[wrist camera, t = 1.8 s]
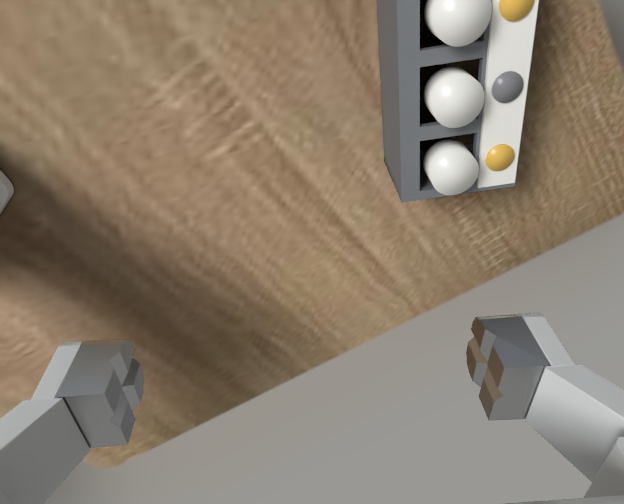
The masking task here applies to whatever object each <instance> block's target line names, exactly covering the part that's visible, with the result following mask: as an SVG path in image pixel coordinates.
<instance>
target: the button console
mask: <svg viewBox="0 0 624 504" xmlns="http://www.w3.org/2000/svg"><path fill="white" fill-rule="evenodd" d="M491 1H492V0H491ZM539 2H540V0H539ZM538 9H539V3H538ZM377 15H378V37H379V58H380V80H381V101H382V122H383V144H384V162H385V164H386V167H387V169H388V171H389V174H390V176H391V178H392V181H393V183H394V185H395V188H396V190H397V192H398V195H399V197H400V200H401V202H409V201H416V200H422V199H429V198H436V197H443V196H450V195H444V194H442V193H440V192H438V191H437V190H436V189H435V188H434V186H433V185H432V183H431V181H430V179H429V178H428V176H427V174H426V172H425V170H424V167H423V161H424V157H425V154H426V153H427V151H428V150H429V149H428V150H421V151H420V141H424V140H431V139H438V138H444V137H451V136H458V135H465V134H471V133H474V143H469V144H464V145H465V147H466V148H467V149H468V150H469V152H470V153H471V154H472V155H473V157H474V158H475V159H476V161H477V163H478V164H479V152H480V139H481V127H482V114H483V107H482V110H481V111H480V113H479V114H478V116H477V117H476V118H475V119H474V120H473V121H472V122H470V123H469V124H467V125H465V126H462V127H459V128H448V127H445V126H443V125H441V124H440V123H439V122H432V123H425V124H420V67H425V66H432V65H439V64H445V63H452V62H458V61H465V60H472V59H478V58H480V59H479V73H478V82H479V83H480V84H481V86H482V87H483V90H484V89H485V76H486V64H487V51H488V38H489V26H490V21H489V24H488V26H487V28H486V29H485V31H484V32H483V34H482V35H481V39H479V40H475V41H474V42H472V43H470V44H468V45H465V46H460V47H454V46H450V45H447V44H446V45H440V46H433V47H427V48H420V0H377ZM537 17H538V10H537ZM536 24H537V18H536ZM535 32H536V26H535ZM534 39H535V33H534ZM533 47H534V41H533ZM532 55H533V48H532ZM531 62H532V56H531ZM530 70H531V64H530ZM529 77H530V71H529ZM528 85H529V79H528ZM527 92H528V86H527ZM526 100H527V94H526ZM525 108H526V102H525ZM524 115H525V109H524ZM523 123H524V117H523ZM522 130H523V125H522ZM521 138H522V132H521ZM520 145H521V140H520ZM519 153H520V147H519ZM518 160H519V155H518ZM517 168H518V163H517ZM516 176H517V170H516ZM515 183H516V178H515ZM515 183H510V184H503V185H496V186H489V187H482V188H478V187H477V179H476V181H475V182H474V184H473V185H472V186H471V187H470V188H469V189H467V190H466V191H464V192H462V193H460V194H464V193H471V192H478V191H485V190H492V189H499V188H506V187H513V186H515Z"/></svg>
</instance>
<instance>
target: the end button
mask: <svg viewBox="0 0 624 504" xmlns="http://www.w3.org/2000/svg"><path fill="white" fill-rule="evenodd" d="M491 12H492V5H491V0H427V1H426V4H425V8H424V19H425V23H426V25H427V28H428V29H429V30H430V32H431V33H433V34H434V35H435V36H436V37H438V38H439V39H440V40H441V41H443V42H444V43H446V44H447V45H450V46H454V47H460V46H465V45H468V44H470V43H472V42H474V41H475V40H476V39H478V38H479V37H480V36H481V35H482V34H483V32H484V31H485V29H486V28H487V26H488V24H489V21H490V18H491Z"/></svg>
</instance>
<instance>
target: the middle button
mask: <svg viewBox="0 0 624 504" xmlns="http://www.w3.org/2000/svg"><path fill="white" fill-rule="evenodd" d="M484 99H485V95H484V90H483V87H482V86H481V84H480V83H479V82H478V81H477V80H476V79H475V78H473V77H472V76H471V75H470V74H469V73H468V72H466V71H465V70H464V69H462V68H460V67H455V66H450V67H445V68H442V69H440V70H438V71H437V72H436V73H434V74H433V75H432V76H431V77H430V79H429V80H428V82H427V84H426V86H425V89H424V102H425V105H426V107H427V108H428V109H429V111H430V112H431V113H432V115H433V116H434V117H435V119H436V120H437V121H438V122H439V123H440V124H441V125H443V126H445V127H448V128H459V127H462V126H465V125H467V124H469V123H470V122H472V121H473V120H474V119H475V118H476V117H477V116H478V114H479V113H480V111H481V110H482V107H483V104H484Z"/></svg>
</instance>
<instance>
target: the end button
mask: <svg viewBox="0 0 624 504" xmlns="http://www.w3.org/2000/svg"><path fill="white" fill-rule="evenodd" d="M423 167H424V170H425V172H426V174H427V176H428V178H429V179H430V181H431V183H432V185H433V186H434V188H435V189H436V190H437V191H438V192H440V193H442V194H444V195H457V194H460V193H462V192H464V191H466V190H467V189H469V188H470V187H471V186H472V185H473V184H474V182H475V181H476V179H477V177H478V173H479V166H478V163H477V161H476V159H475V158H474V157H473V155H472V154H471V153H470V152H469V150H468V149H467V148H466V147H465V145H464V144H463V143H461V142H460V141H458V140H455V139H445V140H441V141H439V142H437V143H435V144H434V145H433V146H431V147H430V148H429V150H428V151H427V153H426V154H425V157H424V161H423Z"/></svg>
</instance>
